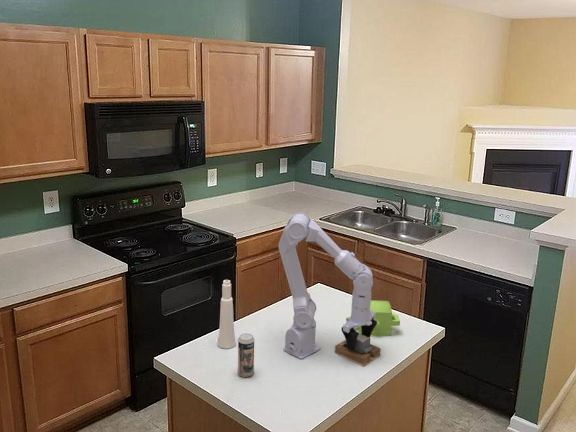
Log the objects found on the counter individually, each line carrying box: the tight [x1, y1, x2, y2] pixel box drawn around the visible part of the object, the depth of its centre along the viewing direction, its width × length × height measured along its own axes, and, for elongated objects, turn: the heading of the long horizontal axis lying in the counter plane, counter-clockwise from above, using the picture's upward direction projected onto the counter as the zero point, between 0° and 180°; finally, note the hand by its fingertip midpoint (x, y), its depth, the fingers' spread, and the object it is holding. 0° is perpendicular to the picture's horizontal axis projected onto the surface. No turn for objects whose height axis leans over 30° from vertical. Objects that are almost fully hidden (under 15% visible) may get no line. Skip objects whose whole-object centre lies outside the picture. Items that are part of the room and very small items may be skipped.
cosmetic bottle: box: [216, 279, 237, 350], centre depth 171 cm, size 6×6×22 cm
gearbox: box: [345, 299, 401, 337], centre depth 185 cm, size 18×10×10 cm, turn 89°
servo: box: [344, 333, 372, 355], centre depth 170 cm, size 4×8×6 cm, turn 46°
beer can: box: [237, 333, 256, 378], centre depth 157 cm, size 5×5×12 cm
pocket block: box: [334, 339, 382, 367], centre depth 171 cm, size 9×11×3 cm
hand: (358, 345), depth 170 cm, fingers open, 7 cm apart
